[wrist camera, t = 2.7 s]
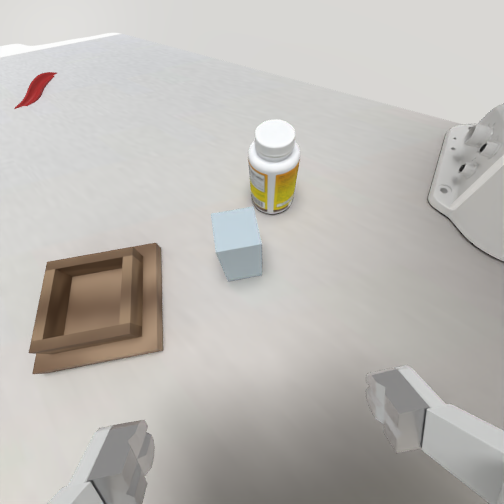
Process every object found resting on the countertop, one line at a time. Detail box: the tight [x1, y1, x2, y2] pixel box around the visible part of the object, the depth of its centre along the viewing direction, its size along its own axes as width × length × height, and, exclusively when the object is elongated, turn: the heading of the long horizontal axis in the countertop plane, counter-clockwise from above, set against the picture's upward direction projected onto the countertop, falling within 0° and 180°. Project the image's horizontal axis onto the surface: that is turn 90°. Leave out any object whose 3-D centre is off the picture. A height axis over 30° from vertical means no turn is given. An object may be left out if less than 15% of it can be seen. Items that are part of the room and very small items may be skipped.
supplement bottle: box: [248, 120, 300, 214], centre depth 28 cm, size 6×6×10 cm
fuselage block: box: [211, 207, 262, 281], centre depth 25 cm, size 4×4×8 cm
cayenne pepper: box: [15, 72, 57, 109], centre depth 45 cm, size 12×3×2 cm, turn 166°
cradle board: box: [29, 243, 163, 374], centre depth 25 cm, size 12×12×4 cm
